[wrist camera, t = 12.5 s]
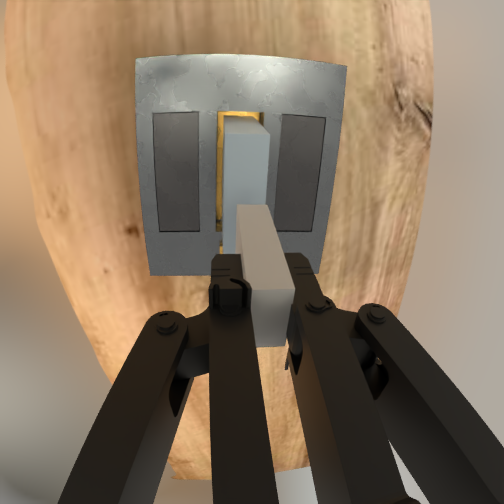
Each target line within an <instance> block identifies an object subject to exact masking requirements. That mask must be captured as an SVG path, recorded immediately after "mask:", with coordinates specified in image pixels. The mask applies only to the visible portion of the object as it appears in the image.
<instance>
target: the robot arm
mask: <svg viewBox="0 0 504 504" xmlns="http://www.w3.org/2000/svg"><path fill="white" fill-rule="evenodd" d="M235 253H236V254H216V255H215V257H214V258H213V259H212V261H211V284H210V286H209V289H208V290H209V306H208V308H207V309H206V310H205V311H204V312H202V313H201V314H199V315H196V316H193V317H189V318H185V317H184V316H183V315H182V314H180V313H178V312H175V311H162V312H158V313H156V314H154V315H152V316H151V317H150V318H149V319H148V321H147V322H146V324H145V326H144V327H143V329H142V331H141V333H140V335H139V336H138V338H137V340H136V342H135V344H134V346H133V347H132V349H131V351H130V353H129V355H128V357H127V359H126V361H125V362H124V364H123V366H122V368H121V370H120V372H119V374H118V376H117V378H116V380H115V382H114V384H113V386H112V388H111V389H110V392H109V393H108V395H107V397H106V399H105V401H104V403H103V405H102V408H101V409H100V411H99V413H98V416H97V417H96V420H95V422H94V424H93V426H92V428H91V430H90V432H89V434H88V436H87V438H86V440H85V443H84V445H83V447H82V449H81V451H80V454H79V456H78V458H77V460H76V462H75V464H74V467H73V469H72V471H71V473H70V476H69V478H68V480H67V483H66V485H65V487H64V489H63V492H62V494H61V496H60V499H59V501H58V504H153V502H154V499H155V496H156V493H157V489H158V486H159V483H160V480H161V477H162V474H163V471H164V468H165V465H166V462H167V459H168V456H169V453H170V450H171V446H172V443H173V440H174V437H175V434H176V431H177V428H178V425H179V422H180V419H181V416H182V413H183V410H184V407H185V404H186V401H187V398H188V395H189V392H190V389H191V386H192V383H193V380H194V377H196V376H200V375H203V374H207V373H209V400H210V441H211V468H212V489H213V504H279V500H278V494H277V488H276V481H275V474H274V467H273V461H272V454H271V447H270V440H269V434H268V427H267V420H266V413H265V406H264V399H263V392H262V385H261V378H260V371H259V364H258V357H257V350H256V347H277V346H285V343H286V338H287V340H288V344H289V348H288V353H287V358H286V363H285V370H288V366H289V367H290V371H291V376H292V381H293V385H294V390H295V395H296V399H297V404H298V409H299V413H300V418H301V423H302V428H303V432H304V437H305V442H306V447H307V451H308V456H309V461H310V466H311V471H312V476H313V481H314V485H315V491H316V495H317V500H318V504H421V503H420V502H419V501H417V500H416V499H413V498H411V497H409V496H408V494H407V493H406V491H405V488H404V485H403V482H402V479H401V476H400V473H399V470H398V467H397V464H396V461H395V458H394V455H393V452H392V449H391V446H390V443H391V444H392V446H393V448H394V449H395V451H396V452H397V454H398V455H399V457H400V458H401V459H402V461H403V463H404V464H405V466H406V467H407V469H408V471H409V472H410V474H411V475H412V477H413V478H414V479H415V481H416V483H417V484H418V486H419V487H420V489H421V490H422V492H423V494H424V495H425V497H426V498H427V500H428V501H429V503H430V504H504V448H503V446H502V444H501V443H500V442H499V440H498V439H497V438H496V437H495V435H494V434H493V433H492V431H491V430H490V429H489V428H488V426H487V425H486V423H485V422H484V421H483V419H482V418H481V417H480V416H479V415H478V413H477V412H476V410H475V409H474V408H473V407H472V405H471V404H470V403H469V402H468V400H467V399H466V398H465V397H464V396H463V394H462V393H461V392H460V391H459V389H458V388H457V387H456V386H455V384H454V383H453V382H452V381H451V380H450V379H449V377H448V376H447V375H446V374H445V373H444V371H443V370H442V369H441V368H440V367H439V365H438V364H437V363H436V362H435V361H434V360H433V358H432V357H431V356H430V355H429V354H428V353H427V352H426V350H425V349H424V348H423V347H422V346H421V345H420V344H419V342H418V341H417V340H416V339H415V338H414V337H413V336H412V335H411V333H410V332H409V331H408V330H407V329H406V328H405V327H404V326H403V324H402V323H401V322H400V321H399V320H398V319H397V318H396V317H395V316H394V314H393V313H392V312H391V311H390V310H388V309H387V308H386V307H384V306H382V305H379V304H374V303H369V304H365V305H363V306H361V307H360V309H359V311H358V313H356V312H351V311H345V310H341V309H338V308H336V306H335V304H334V303H333V301H332V300H331V299H329V298H328V297H326V296H324V295H323V293H322V291H321V289H320V286H319V284H318V281H317V279H316V277H315V275H314V272H313V270H312V268H311V265H310V262H309V260H308V259H307V258H306V257H305V256H304V255H303V254H302V253H283V250H282V247H281V244H280V241H279V238H278V235H277V232H276V229H275V226H274V223H273V220H272V217H271V214H270V211H269V208H268V205H249V204H237V215H236V249H235ZM378 358H379V359H378ZM388 440H389V441H390V443H389V441H388Z"/></svg>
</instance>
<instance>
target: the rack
mask: <svg viewBox="0 0 504 504" xmlns="http://www.w3.org/2000/svg"><path fill="white" fill-rule="evenodd" d="M346 72H347V66H343V65H337V64H331V63H325V62H318V61H311V60H304V59H295V58H285V57H274V56H261V55H241V54H188V55H168V56H155V57H144V58H136V65H135V108H136V138H137V157H138V172H139V184H140V196H141V206H142V216H143V225H144V233H145V241H146V249H147V256H148V263H149V270H150V275H151V276H193V275H211V261H212V259H213V258H214V257H215V255H216V254H223V243H222V160H223V121H224V115H237V116H253V117H254V118H255V119H256V120H257V121H258V122H259V123H260V124H261V125H262V126H263V127H264V128H265V130H266V131H267V132H268V133H269V134H270V146H269V160H268V175H267V189H266V203H265V205H268V208H269V211H270V214H271V217H272V220H273V223H274V226H275V229H276V232H277V235H278V238H279V241H280V244H281V247H282V250H283V253H302V254H303V255H304V256H305V257H306V258H307V259H308V260H309V262H310V265H311V268H312V270H313V272H314V274H318V273H319V267H320V262H321V257H322V251H323V246H324V240H325V235H326V229H327V223H328V217H329V211H330V205H331V198H332V192H333V185H334V178H335V171H336V164H337V156H338V149H339V141H340V132H341V124H342V115H343V105H344V95H345V84H346Z"/></svg>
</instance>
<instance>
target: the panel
mask: <svg viewBox="0 0 504 504" xmlns="http://www.w3.org/2000/svg"><path fill="white" fill-rule="evenodd" d="M269 146H270V134H269V133H268V132H267V131H266V130H265V128H264V127H263V126H262V125H261V124H260V123H259V122H258V121H257V120H256V119H255V118H254V117H253V116H237V115H224V121H223V160H222V243H223V254H236V253H235V249H236V215H237V204H249V205H265V203H266V189H267V175H268V160H269Z"/></svg>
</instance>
